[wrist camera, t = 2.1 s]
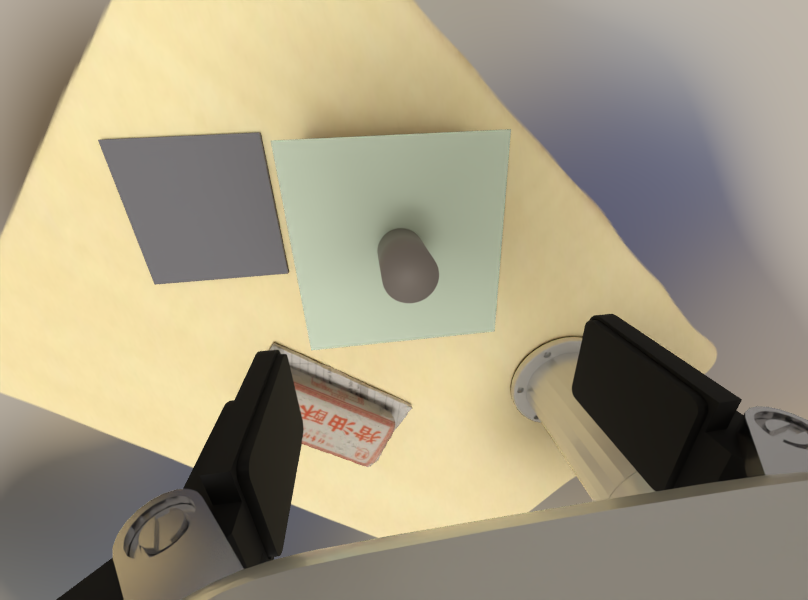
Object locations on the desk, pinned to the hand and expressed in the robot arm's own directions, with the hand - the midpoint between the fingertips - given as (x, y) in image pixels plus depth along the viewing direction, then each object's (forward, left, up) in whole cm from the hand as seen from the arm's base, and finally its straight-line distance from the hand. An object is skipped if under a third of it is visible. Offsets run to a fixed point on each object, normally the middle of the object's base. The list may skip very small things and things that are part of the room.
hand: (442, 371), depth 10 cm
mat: (+16, -2, -23) cm, 28 cm away
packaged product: (+8, +21, -24) cm, 33 cm away
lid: (0, 0, -16) cm, 16 cm away
